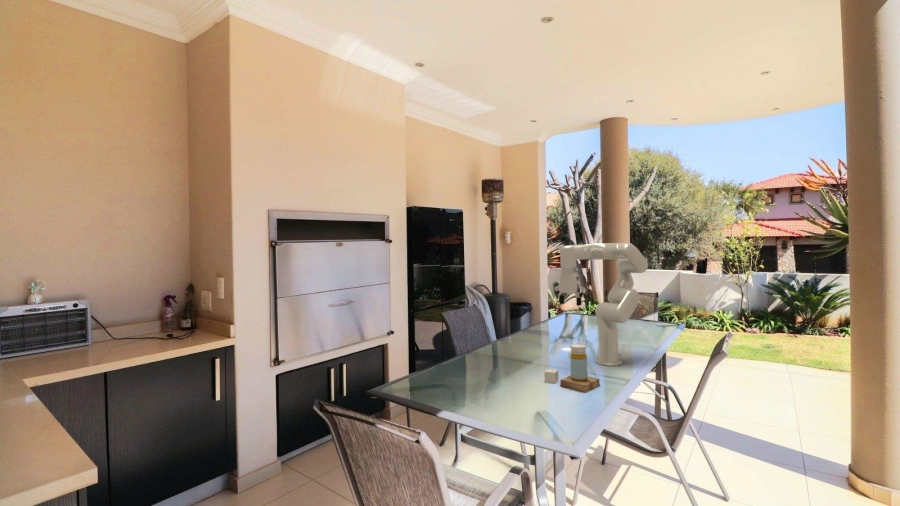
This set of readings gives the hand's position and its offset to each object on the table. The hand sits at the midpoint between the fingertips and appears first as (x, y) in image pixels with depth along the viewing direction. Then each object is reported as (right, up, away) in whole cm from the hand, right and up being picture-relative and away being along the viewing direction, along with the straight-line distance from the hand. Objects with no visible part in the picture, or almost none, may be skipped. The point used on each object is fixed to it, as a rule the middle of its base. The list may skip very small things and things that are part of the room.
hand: (570, 304), depth 204 cm
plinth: (-2, -34, -22) cm, 40 cm away
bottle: (-2, -31, -22) cm, 38 cm away
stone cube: (-13, -34, -14) cm, 39 cm away
